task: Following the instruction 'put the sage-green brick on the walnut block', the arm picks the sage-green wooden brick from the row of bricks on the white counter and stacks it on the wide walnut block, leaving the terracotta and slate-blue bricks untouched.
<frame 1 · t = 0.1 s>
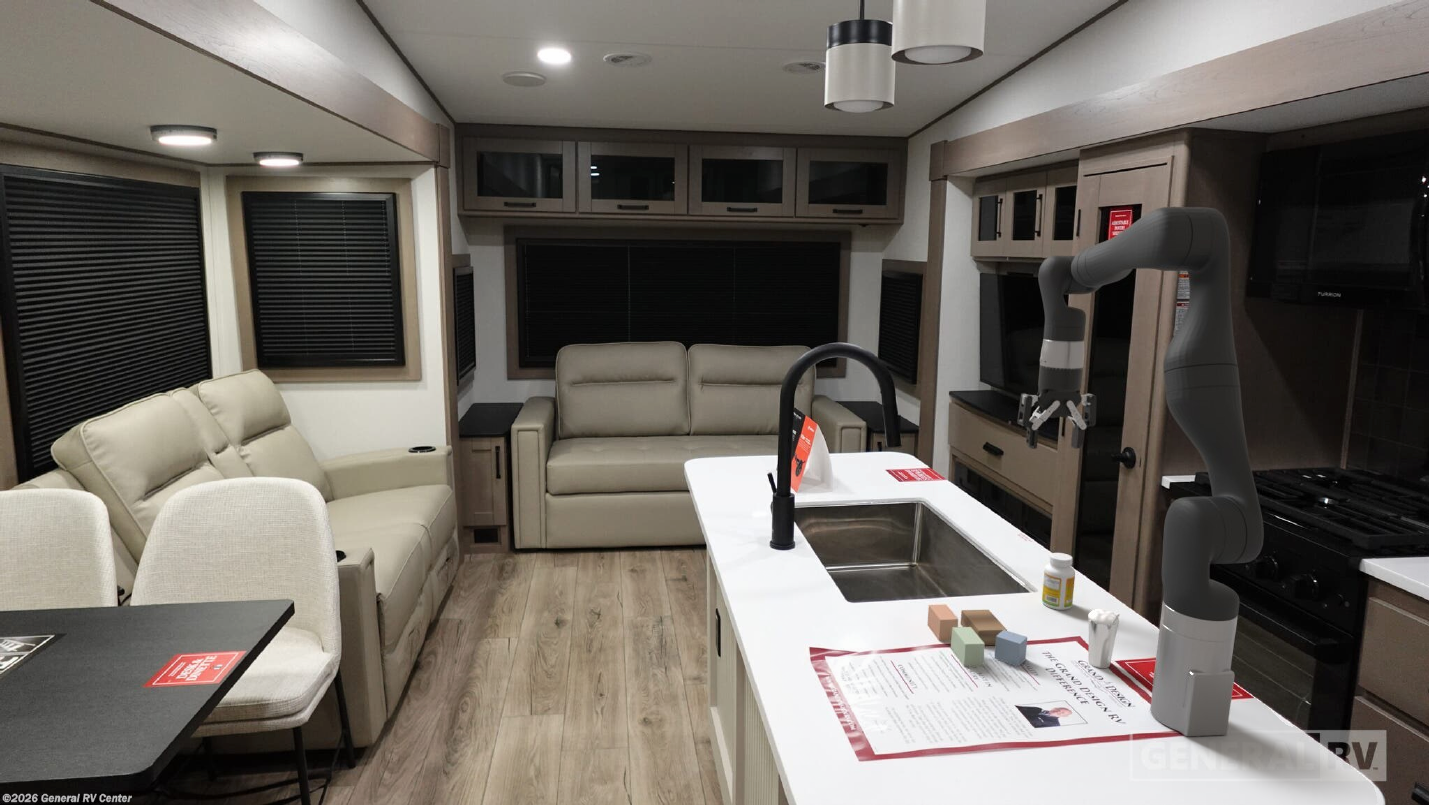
hand: (1054, 448, 160), 29 cm above the counter, tool pointing down, fingers open, 8 cm apart
terracotta brick: (941, 633, 148), on the counter
milkshake: (1100, 666, 137), on the counter
slate brick: (1009, 659, 139), on the counter
walnut block: (982, 635, 148), on the counter
sage brick: (966, 657, 140), on the counter
supplement bottle: (1056, 605, 160), on the counter
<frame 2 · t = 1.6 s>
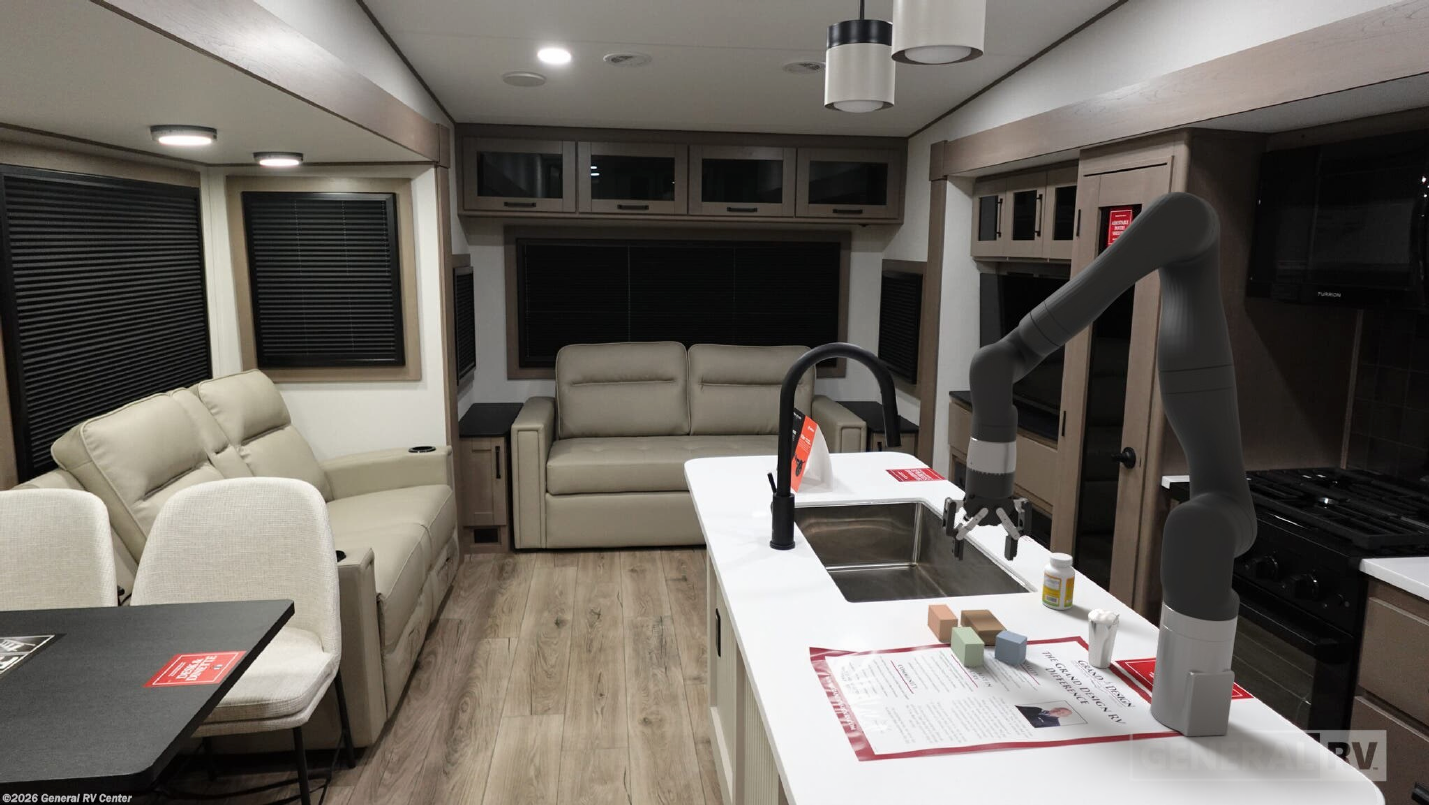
hand: (983, 559, 140), 16 cm above the counter, tool pointing down, fingers open, 8 cm apart
nothing on the counter moved.
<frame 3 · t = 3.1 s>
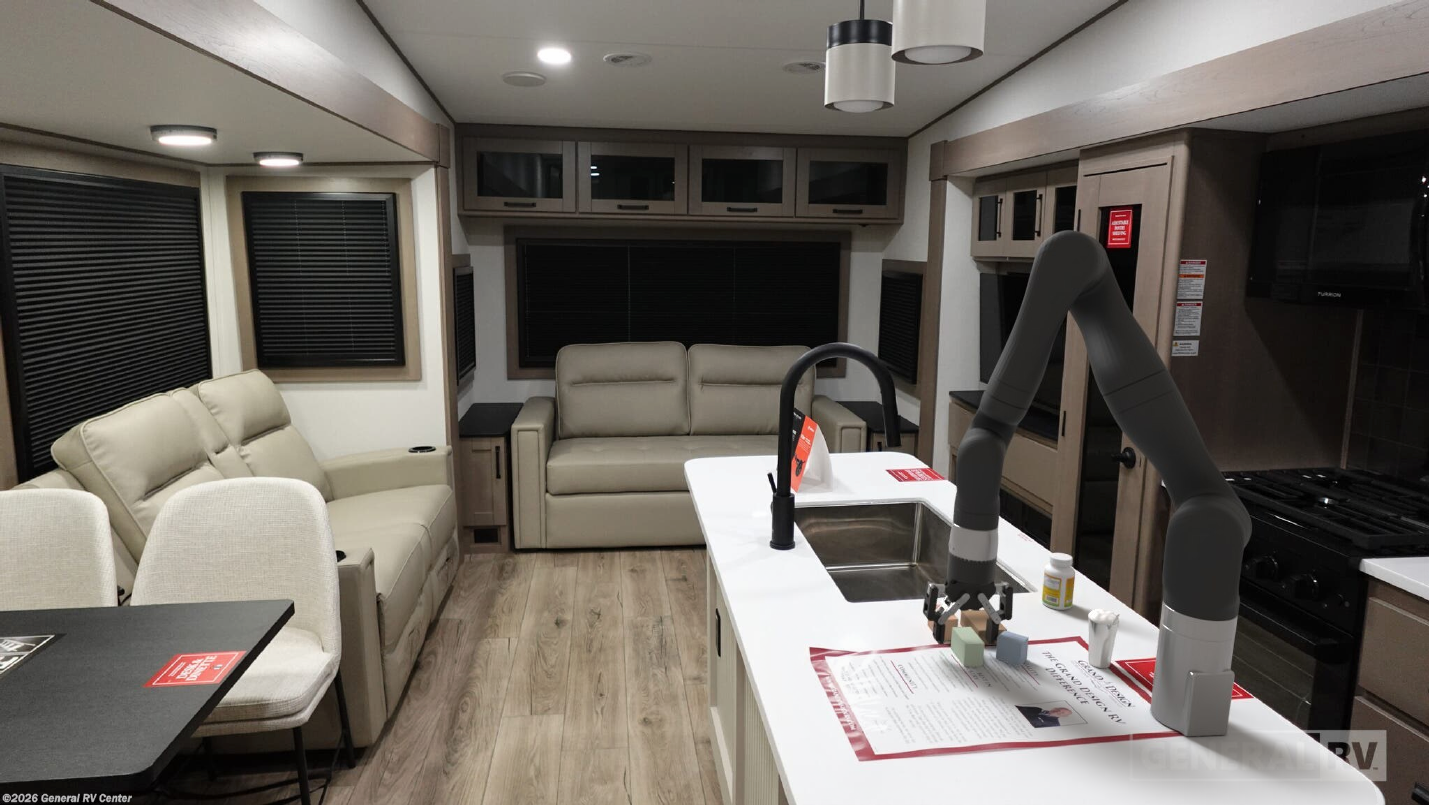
hand: (964, 642, 140), 2 cm above the counter, tool pointing down, fingers open, 8 cm apart
slate brick: (1011, 659, 139), on the counter, touching gripper
everything else where it was.
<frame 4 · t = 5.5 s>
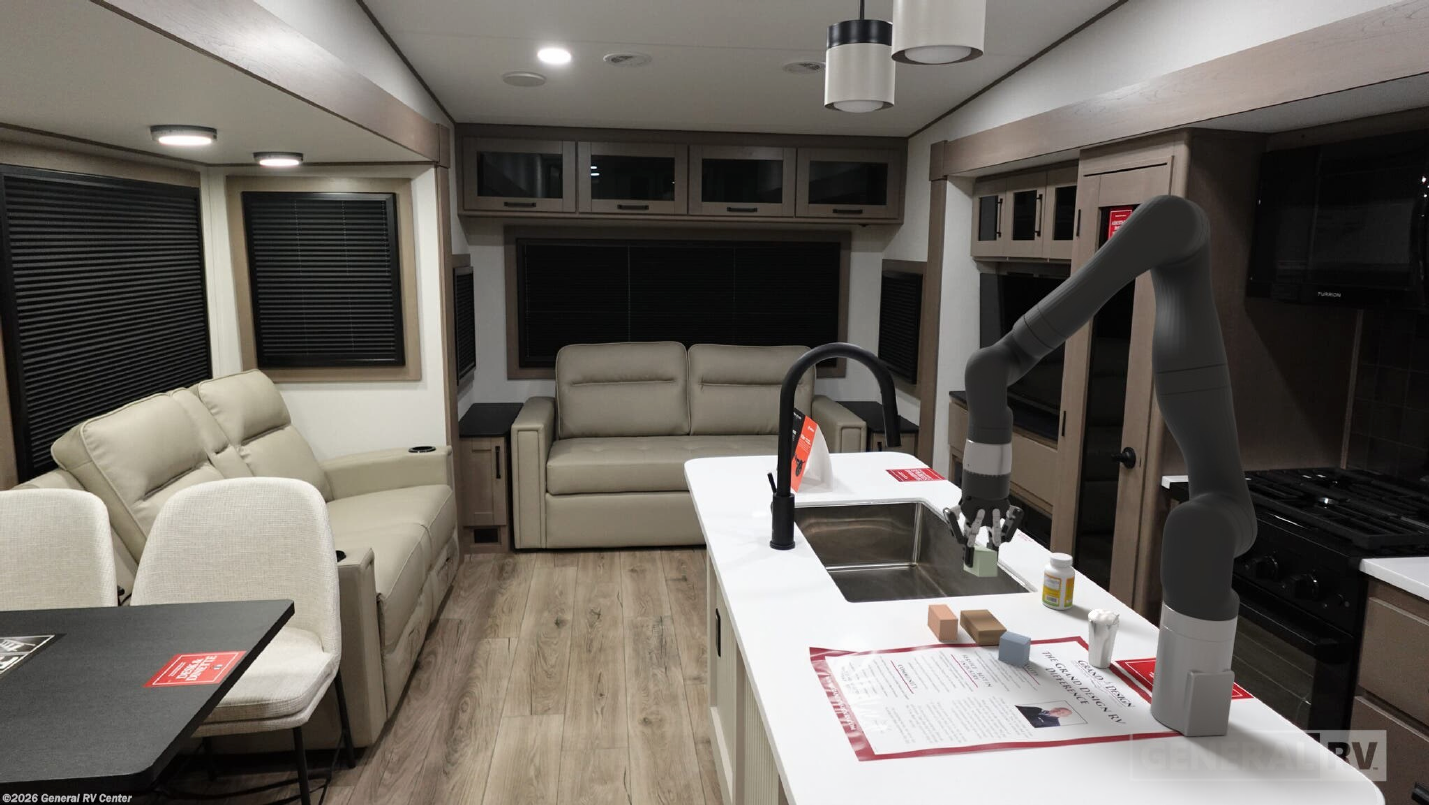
hand: (979, 565, 141), 14 cm above the counter, tool pointing down, fingers closed on sage brick, 3 cm apart
slate brick: (1013, 660, 139), on the counter
sage brick: (980, 572, 141), point 13 cm above the counter, tilted 11°, touching gripper
everything else where it was.
when the fingers open (4 cm above the counter, at t = 7.2 s): sage brick stays where it is, resting on walnut block.
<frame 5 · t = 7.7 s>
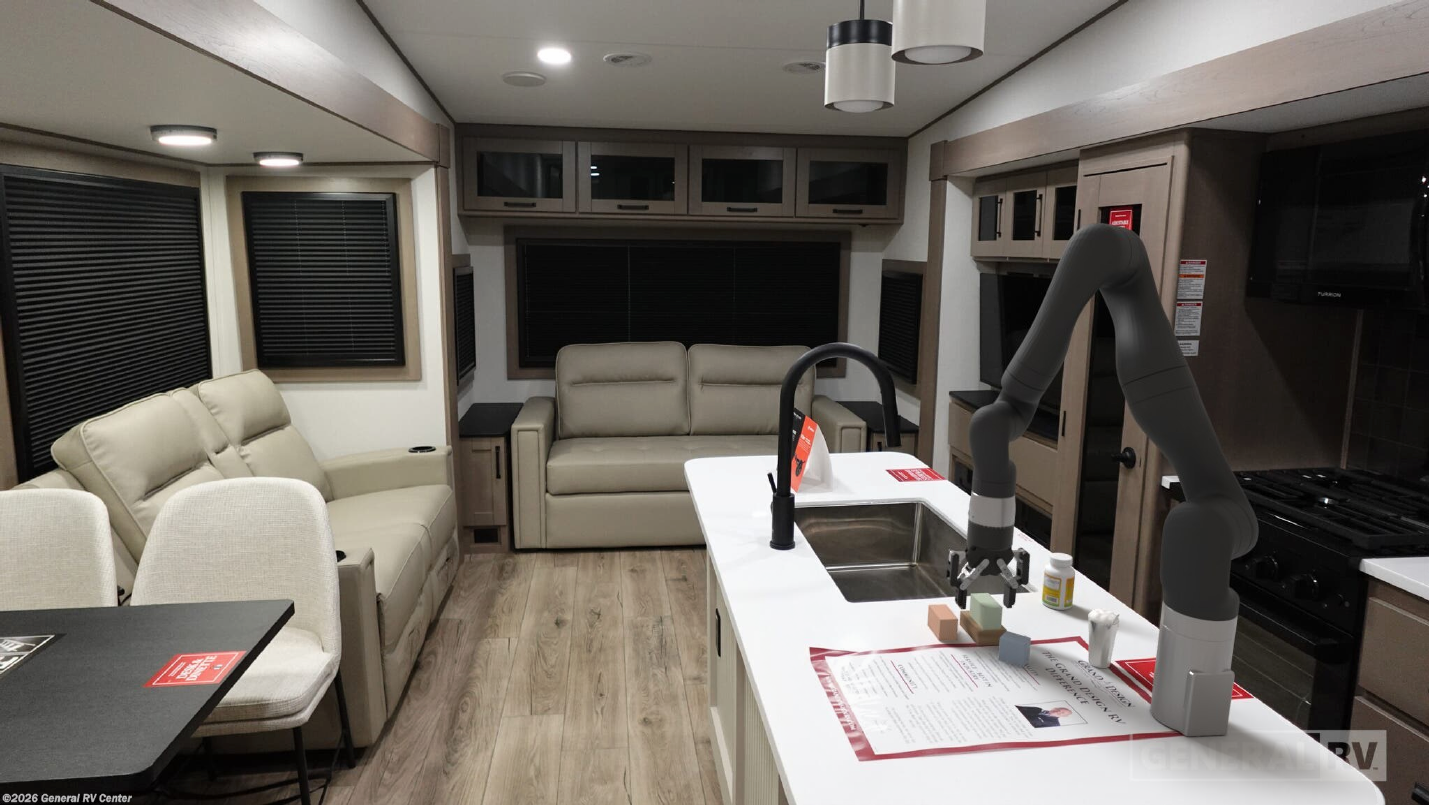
hand: (984, 607, 147), 5 cm above the counter, tool pointing down, fingers open, 8 cm apart
walnut block: (981, 636, 148), on the counter, touching sage brick
sage brick: (984, 621, 147), point 3 cm above the counter, touching walnut block
everything else where it was.
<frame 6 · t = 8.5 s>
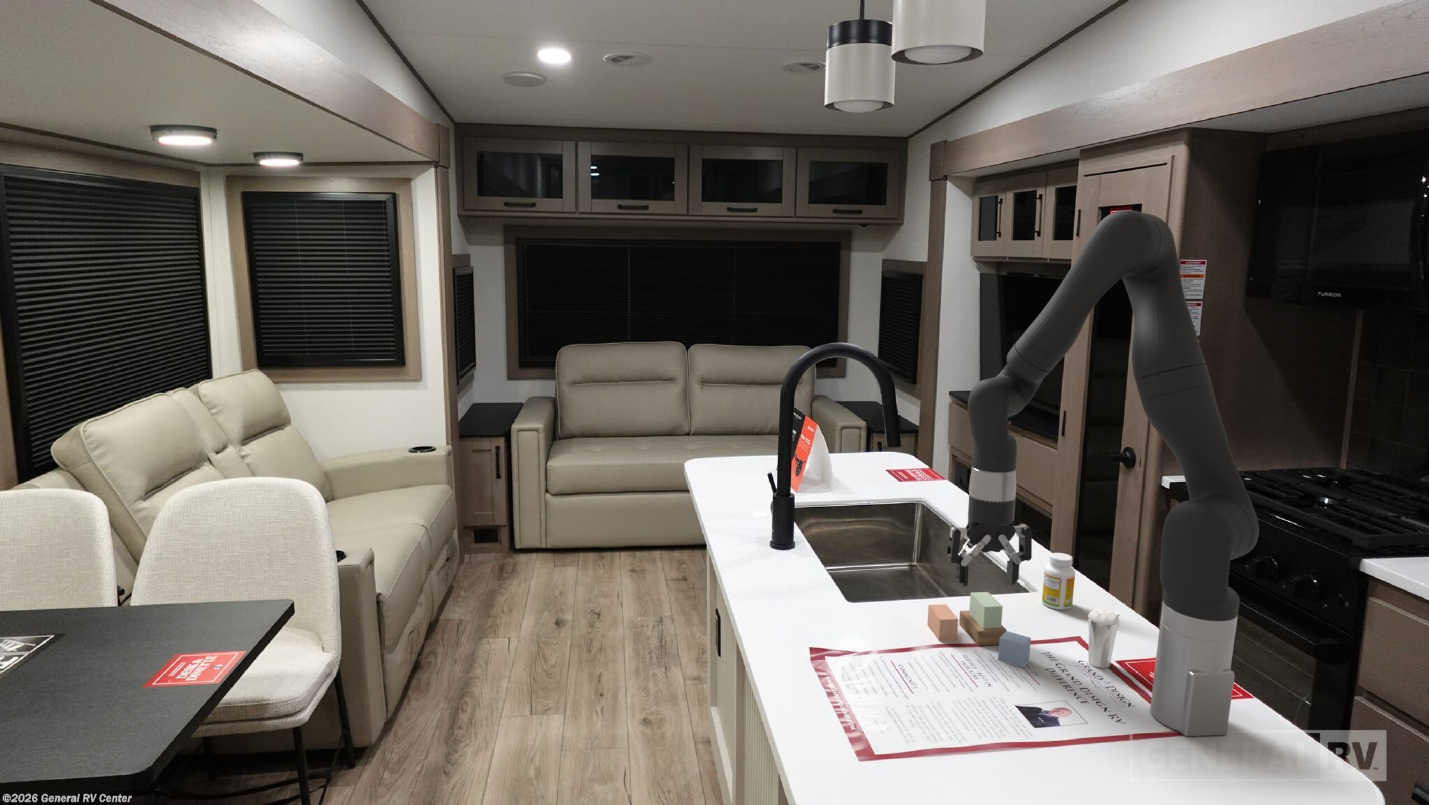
hand: (987, 584, 146), 9 cm above the counter, tool pointing down, fingers open, 8 cm apart
walnut block: (981, 636, 148), on the counter
sage brick: (984, 620, 147), point 3 cm above the counter
everything else where it was.
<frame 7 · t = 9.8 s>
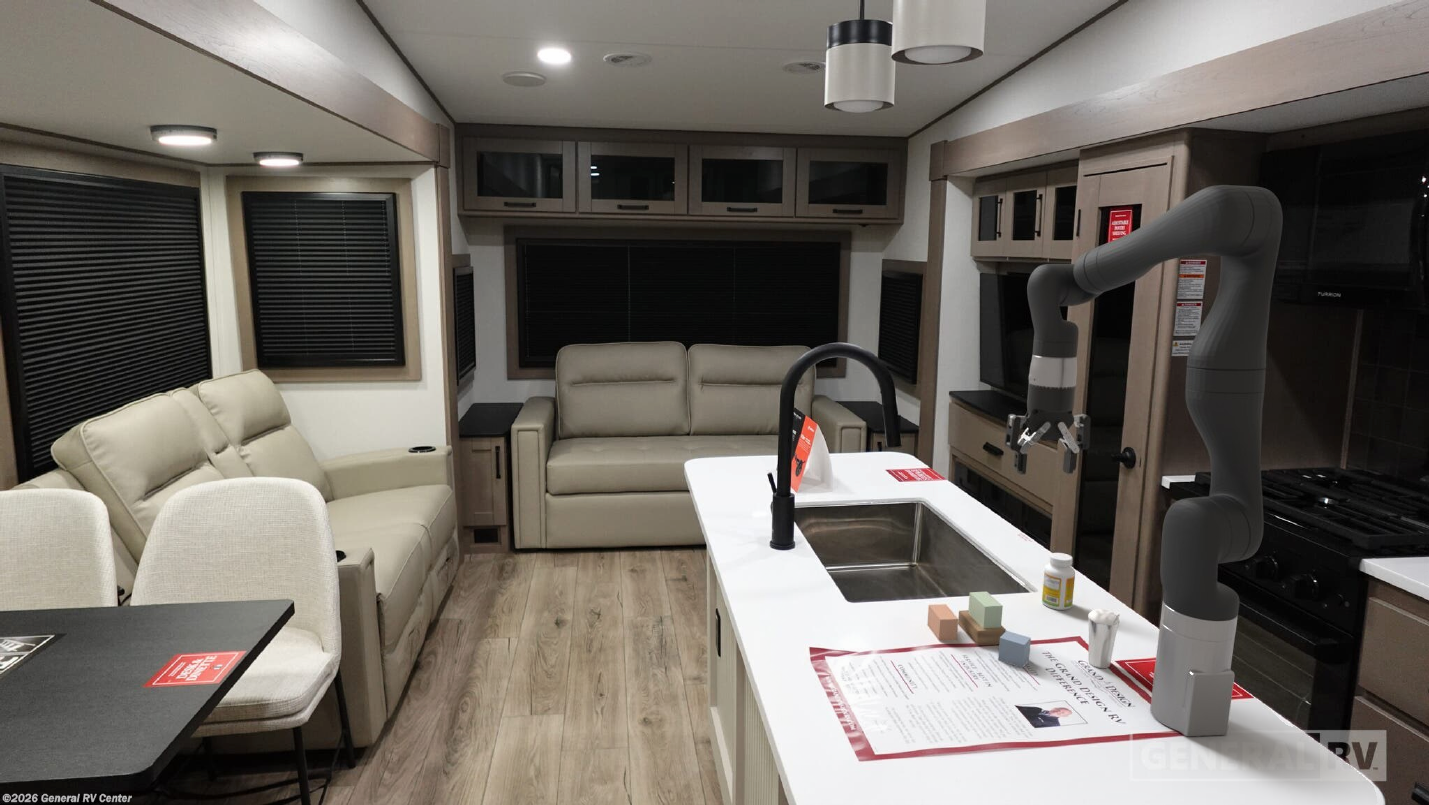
hand: (1044, 473, 147), 28 cm above the counter, tool pointing down, fingers open, 8 cm apart
walnut block: (980, 635, 148), on the counter, touching sage brick
sage brick: (984, 620, 147), point 3 cm above the counter, touching walnut block
everything else where it was.
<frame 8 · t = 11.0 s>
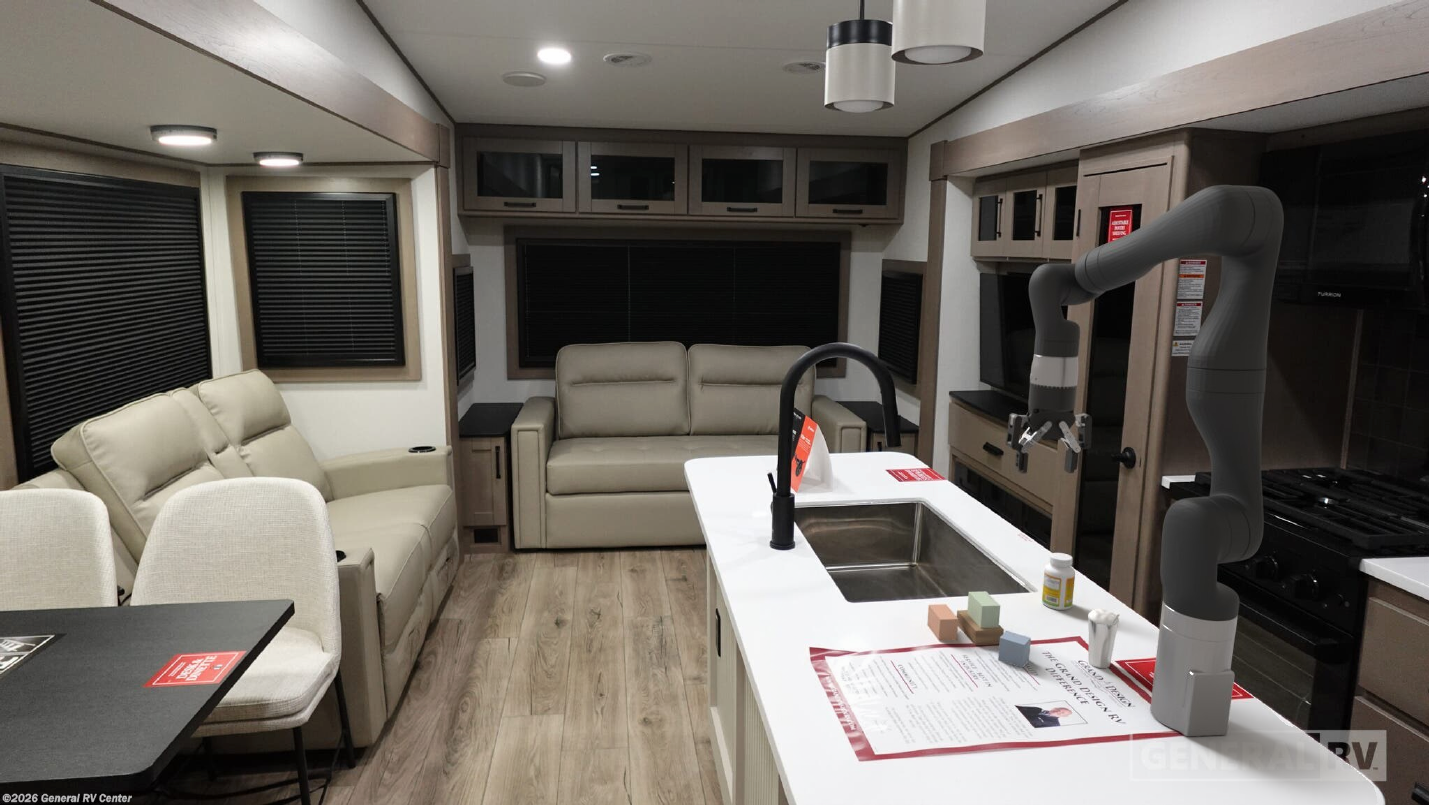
hand: (1045, 472, 147), 28 cm above the counter, tool pointing down, fingers open, 8 cm apart
nothing on the counter moved.
at the end: sage brick 0.6 cm off-centre on the walnut block, point 3.0 cm above the walnut block's base; terracotta brick moved 0.2 cm from its start; slate brick moved 0.6 cm from its start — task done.
